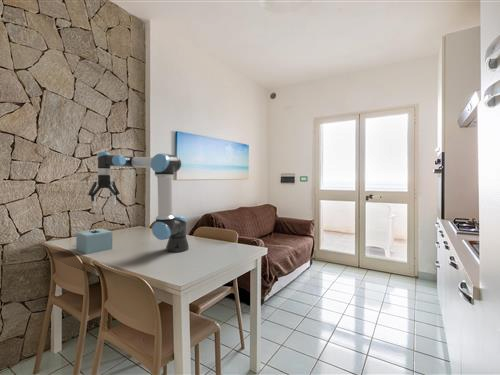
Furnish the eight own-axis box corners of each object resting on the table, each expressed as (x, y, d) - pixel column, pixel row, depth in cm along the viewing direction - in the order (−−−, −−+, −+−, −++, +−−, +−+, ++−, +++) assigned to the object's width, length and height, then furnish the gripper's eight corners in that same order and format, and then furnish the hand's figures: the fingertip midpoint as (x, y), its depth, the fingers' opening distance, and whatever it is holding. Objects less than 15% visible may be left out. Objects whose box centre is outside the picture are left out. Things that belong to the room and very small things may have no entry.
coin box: (112, 248, 178) (112, 231, 177) (86, 254, 165) (86, 235, 164) (101, 244, 187) (101, 228, 187) (76, 249, 174) (76, 231, 174)
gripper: (118, 174, 193) (119, 203, 193) (81, 174, 172) (82, 206, 173) (124, 174, 188) (124, 204, 189) (87, 174, 168) (87, 207, 169)
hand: (104, 205), depth 181 cm, fingers open, 13 cm apart
